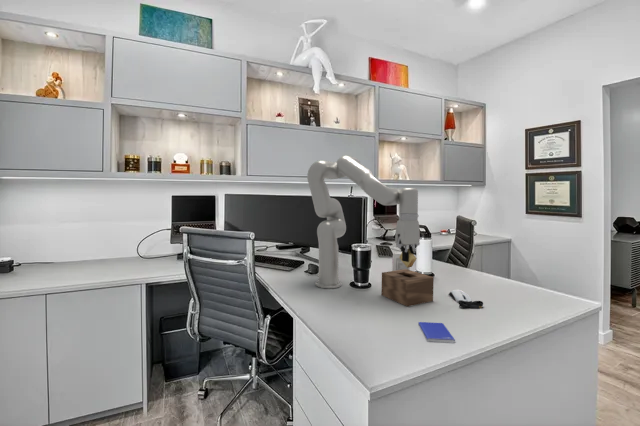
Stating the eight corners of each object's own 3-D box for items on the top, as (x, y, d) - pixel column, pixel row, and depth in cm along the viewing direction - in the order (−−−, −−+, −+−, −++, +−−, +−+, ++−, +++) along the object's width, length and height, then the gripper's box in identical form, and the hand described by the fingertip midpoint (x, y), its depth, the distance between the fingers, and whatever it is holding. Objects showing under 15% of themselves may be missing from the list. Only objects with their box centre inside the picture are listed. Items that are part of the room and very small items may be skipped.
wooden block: (407, 267, 132) (399, 257, 136) (411, 266, 134) (403, 256, 138) (412, 259, 130) (403, 249, 134) (416, 258, 131) (408, 248, 135)
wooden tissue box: (381, 295, 138) (381, 272, 138) (405, 290, 145) (406, 269, 144) (407, 306, 124) (408, 281, 124) (433, 301, 131) (433, 277, 130)
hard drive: (455, 339, 94) (443, 322, 106) (427, 338, 95) (418, 321, 107) (455, 344, 94) (443, 327, 106) (427, 343, 95) (418, 326, 107)
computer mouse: (463, 295, 141) (463, 286, 140) (485, 309, 122) (486, 299, 122) (440, 295, 140) (441, 286, 140) (460, 310, 122) (460, 299, 122)
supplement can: (388, 282, 158) (389, 252, 157) (398, 279, 164) (398, 250, 163) (402, 286, 152) (403, 255, 151) (412, 283, 158) (412, 253, 157)
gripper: (415, 216, 140) (415, 257, 141) (387, 217, 132) (387, 261, 133) (428, 217, 133) (428, 260, 134) (399, 218, 126) (399, 264, 127)
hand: (407, 260), depth 134 cm, fingers closed on wooden block, 2 cm apart
